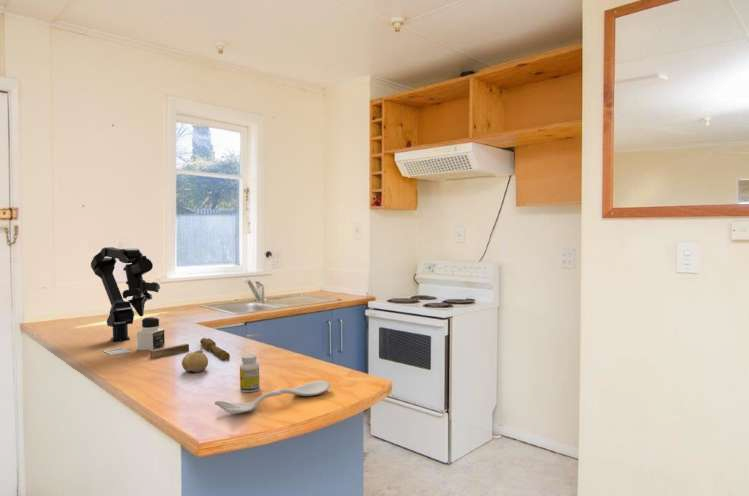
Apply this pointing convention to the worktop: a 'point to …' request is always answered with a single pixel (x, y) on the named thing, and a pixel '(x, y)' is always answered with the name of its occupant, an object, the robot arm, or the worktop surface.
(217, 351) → the tap handle
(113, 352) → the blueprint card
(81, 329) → the worktop surface
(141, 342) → the medicine bottle
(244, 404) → the spoon
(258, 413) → the worktop surface
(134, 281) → the robot arm
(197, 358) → the onion
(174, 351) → the stop bar
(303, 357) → the worktop surface
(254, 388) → the supplement bottle
